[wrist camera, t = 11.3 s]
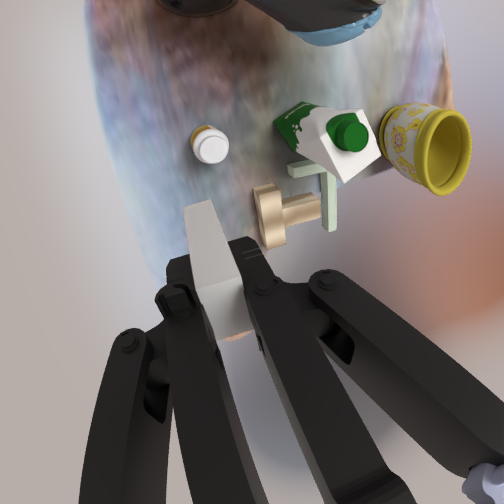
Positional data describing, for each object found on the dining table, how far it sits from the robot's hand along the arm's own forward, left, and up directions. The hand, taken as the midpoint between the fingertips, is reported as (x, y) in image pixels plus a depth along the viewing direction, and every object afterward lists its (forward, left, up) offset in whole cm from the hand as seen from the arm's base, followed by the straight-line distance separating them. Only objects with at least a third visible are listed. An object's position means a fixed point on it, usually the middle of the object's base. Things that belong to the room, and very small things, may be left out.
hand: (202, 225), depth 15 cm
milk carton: (+3, +21, -35) cm, 41 cm away
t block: (+19, +17, -34) cm, 43 cm away
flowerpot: (+7, +47, -35) cm, 59 cm away
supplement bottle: (+2, +4, -35) cm, 35 cm away
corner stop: (+18, +22, -34) cm, 45 cm away
